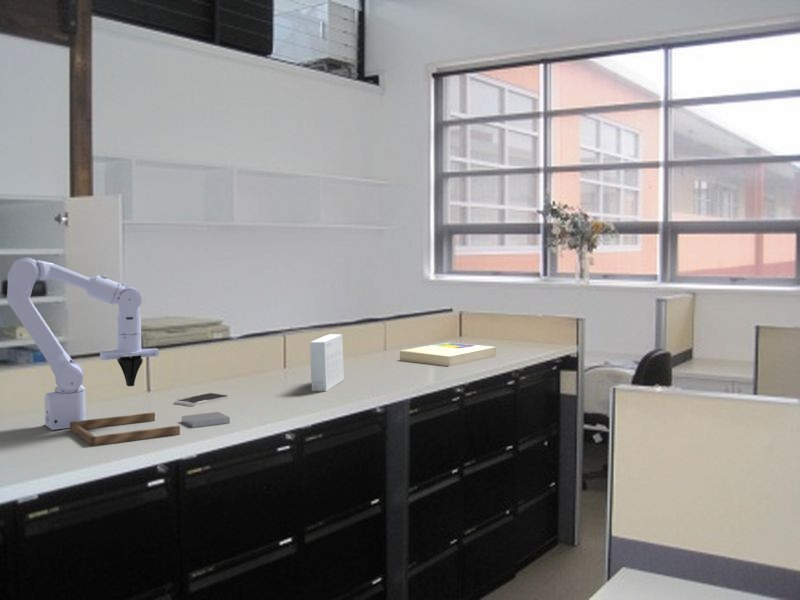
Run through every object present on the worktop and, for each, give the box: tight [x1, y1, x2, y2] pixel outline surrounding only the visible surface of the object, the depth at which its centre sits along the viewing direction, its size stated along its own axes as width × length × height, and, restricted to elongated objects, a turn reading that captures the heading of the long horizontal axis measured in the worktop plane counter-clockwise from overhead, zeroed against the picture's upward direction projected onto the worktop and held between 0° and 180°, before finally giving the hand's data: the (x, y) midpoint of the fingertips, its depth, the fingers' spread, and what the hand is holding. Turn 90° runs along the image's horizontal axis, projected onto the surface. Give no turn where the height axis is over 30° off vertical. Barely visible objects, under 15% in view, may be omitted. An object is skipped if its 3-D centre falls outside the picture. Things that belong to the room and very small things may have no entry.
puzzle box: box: [399, 342, 497, 367], centre depth 335 cm, size 36×5×24 cm
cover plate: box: [181, 411, 231, 429], centre depth 215 cm, size 10×8×2 cm
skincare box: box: [309, 333, 345, 392], centre depth 270 cm, size 21×5×16 cm, turn 168°
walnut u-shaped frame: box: [69, 411, 181, 447], centre depth 203 cm, size 21×19×2 cm
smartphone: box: [174, 392, 229, 407], centre depth 243 cm, size 8×1×15 cm
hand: (130, 385), depth 214 cm, fingers closed
